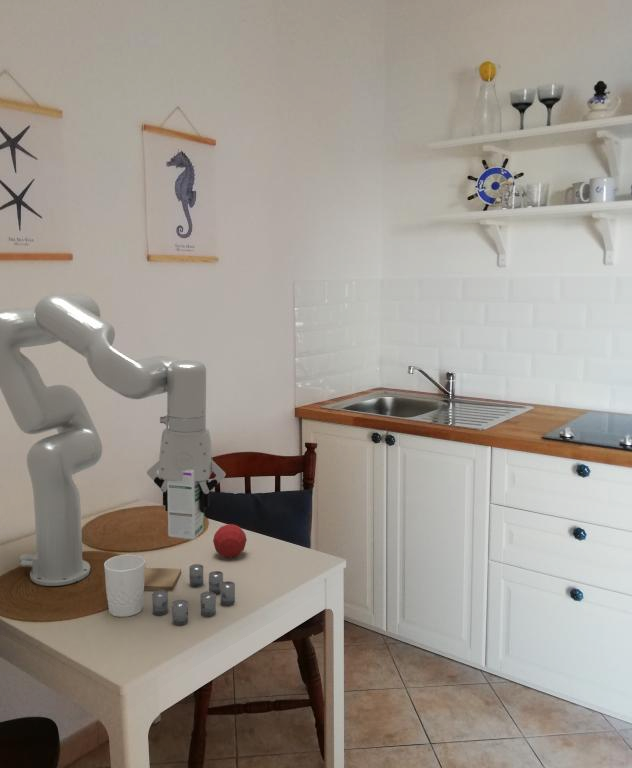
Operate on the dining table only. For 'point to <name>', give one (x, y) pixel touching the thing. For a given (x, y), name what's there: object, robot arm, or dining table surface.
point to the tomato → (229, 540)
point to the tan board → (161, 578)
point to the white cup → (125, 584)
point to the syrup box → (184, 507)
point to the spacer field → (206, 598)
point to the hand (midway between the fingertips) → (186, 508)
